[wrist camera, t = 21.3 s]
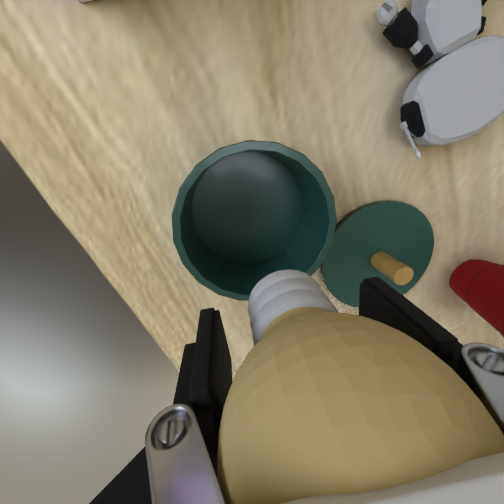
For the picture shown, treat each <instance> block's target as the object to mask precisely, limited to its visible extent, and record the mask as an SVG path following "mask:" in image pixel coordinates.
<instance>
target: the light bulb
mask: <svg viewBox="0 0 504 504" xmlns="http://www.w3.org/2000/svg"><path fill="white" fill-rule="evenodd" d="M248 312H249V316H250V324H251V329H252V335H253V341H254V347H253V349H252V350H251V351H250V352H249V353H248V355H247V357H246V358H245V360H244V361H243V363H242V365H241V366H240V368H239V369H238V371H237V373H236V375H235V378H234V380H233V382H232V385H231V387H230V389H229V392H228V395H227V398H226V401H225V404H224V408H223V413H222V419H221V424H220V429H219V438H218V453H217V464H218V483H219V486H220V489H221V492H222V494H223V497H224V500H225V503H226V504H281V503H285V502H289V501H294V500H298V499H302V498H306V497H311V496H315V495H336V494H351V493H362V492H368V491H374V490H381V489H386V488H391V487H395V486H399V485H403V484H406V483H410V482H413V481H416V480H419V479H423V478H426V477H429V476H432V475H434V474H437V473H440V472H443V471H445V470H448V469H451V468H453V467H455V466H457V465H459V464H461V463H463V462H465V461H467V460H471V459H476V458H480V457H485V456H489V455H494V454H498V453H503V452H504V435H503V433H502V432H501V430H500V428H499V427H498V425H497V424H496V422H495V421H494V419H493V418H492V416H491V415H490V414H489V412H488V411H487V409H486V408H485V406H484V405H483V404H482V402H481V401H480V400H479V399H478V397H477V396H476V395H475V394H474V392H473V391H472V390H471V389H470V387H469V386H468V385H467V384H466V383H465V382H464V381H463V380H462V379H461V378H460V377H459V376H458V375H457V373H456V372H455V371H454V370H453V369H452V368H451V367H450V366H448V365H447V364H446V363H445V362H443V361H442V360H441V359H440V358H439V357H437V356H436V355H435V354H434V353H433V352H431V351H430V350H429V349H427V348H426V347H425V346H423V345H422V344H420V343H419V342H418V341H416V340H414V339H413V338H411V337H410V336H408V335H406V334H405V333H403V332H401V331H399V330H397V329H394V328H392V327H390V326H388V325H386V324H383V323H381V322H379V321H375V320H372V319H369V318H366V317H363V316H358V315H352V314H347V313H339V312H338V310H337V309H336V308H335V306H334V305H333V304H332V302H331V301H330V300H329V299H328V297H327V296H326V294H325V293H324V291H323V290H322V289H321V287H320V286H319V284H318V283H317V282H316V281H315V280H314V279H313V278H312V277H311V276H309V275H308V274H306V273H304V272H301V271H298V270H290V269H289V270H280V271H276V272H273V273H271V274H269V275H267V276H266V277H264V278H263V279H261V280H260V281H259V282H258V283H257V284H256V285H255V287H254V288H253V290H252V292H251V294H250V297H249V300H248Z"/></svg>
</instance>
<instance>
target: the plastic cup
mask: <svg viewBox="0 0 504 504" xmlns="http://www.w3.org/2000/svg"><path fill="white" fill-rule="evenodd" d="M450 287H451V288H452V290H453V291H454V292H455V293H456V294H457V295H458V296H459V297H460V298H462V299H463V300H464V301H465V302H467V303H468V304H469V306H470V307H471V308H472V309H474V310H475V311H476V312H477V313H478V314H479V315H480V316H482V317H483V318H484V319H485V320H486V321H487V322H488V323H490V324H491V325H492V326H493V327H494V328H495V329H496V330H497V331H499V332H500V333H501V335H502V336H503V337H504V265H500V264H496V263H492V262H488V261H484V260H469V261H466V262H464V263H462V264H461V265H460V266H458V267H457V268H456V269H455V271H454V272H453V273H452V275H451V278H450Z"/></svg>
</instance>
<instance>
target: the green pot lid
mask: <svg viewBox="0 0 504 504" xmlns="http://www.w3.org/2000/svg"><path fill="white" fill-rule="evenodd" d="M433 245H434V238H433V231H432V228H431V225H430V223H429V221H428V219H427V218H426V217H425V215H424V214H423V213H422V212H421V211H420V210H418V209H417V208H415V207H413V206H412V205H409V204H406V203H403V202H398V201H381V202H376V203H372V204H370V205H367V206H364V207H362V208H360V209H359V210H357V211H355V212H354V213H352V214H351V215H349V216H348V217H347V218H346V219H345V220H343V221H342V222H341V223H340V225H339V226H338V227H337V228H336V229H335V231H334V237H333V242H332V244H331V247H330V249H329V251H328V253H327V255H326V257H325V259H324V261H323V263H322V275H323V279H324V282H325V284H326V286H327V288H328V289H329V291H330V292H331V293H332V294H333V295H334V297H336V298H337V299H338V300H339V301H341V302H343V303H345V304H347V305H350V306H354V307H359V293H360V283H362V282H363V280H364V279H366V278H371V277H380V278H381V279H382V280H383V281H385V282H386V283H387V284H389V285H390V286H391V287H392V288H394V289H395V290H396V291H397V292H399V293H400V294H401V295H403V294H405V293H406V292H407V291H409V290H410V289H411V288H412V287H413V286H414V285H415V284H416V283H417V282H418V280H419V279H420V278H421V277H422V275H423V274H424V272H425V270H426V269H427V266H428V264H429V262H430V259H431V256H432V252H433Z"/></svg>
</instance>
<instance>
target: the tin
mask: <svg viewBox="0 0 504 504" xmlns="http://www.w3.org/2000/svg"><path fill="white" fill-rule="evenodd" d="M172 226H173V241H174V244H175V246H176V249H177V251H178V253H179V256H180V258H181V261H182V263H183V265H184V266H185V267H186V268H187V269H188V270H189V272H190V273H191V274H192V275H193V276H194V277H195V279H196V280H197V281H198V282H199V283H201V284H202V285H204V286H206V287H207V288H209V289H210V290H212V291H214V292H215V293H217V294H219V295H222V296H225V297H229V298H233V299H236V300H241V301H243V300H249V297H250V294H251V292H252V290H253V288H254V287H255V285H256V284H257V283H258V282H259V281H260V280H261V279H263V278H264V277H266V276H267V275H269V274H271V273H273V272H276V271H280V270H289V269H290V270H298V271H301V272H304V273H306V274H308V275H309V276H312V275H313V273H314V272H315V271H316V270H317V269H318V268H319V267H320V266H321V264H322V263H323V261H324V259H325V257H326V255H327V253H328V251H329V249H330V247H331V244H332V242H333V237H334V231H335V226H336V212H335V203H334V196H333V194H332V192H331V190H330V188H329V186H328V184H327V181H326V179H325V177H324V175H323V173H322V172H321V171H320V170H319V169H318V168H317V167H316V166H315V165H314V164H313V163H312V162H311V161H310V160H309V159H308V158H307V157H306V156H305V155H304V154H302V153H300V152H298V151H296V150H293V149H291V148H289V147H287V146H284V145H282V144H280V143H277V142H266V141H253V140H249V141H248V140H247V141H244V142H240V143H237V144H233V145H229V146H226V147H222V148H220V149H218V150H217V151H215V152H214V153H212V154H211V155H210V156H208V157H207V158H205V159H204V160H202V161H201V162H200V163H198V164H197V165H196V166H195V167H194V169H193V170H192V171H191V173H190V174H189V176H188V177H187V178H186V180H185V181H184V183H183V184H182V186H181V187H180V189H179V191H178V195H177V198H176V202H175V206H174V209H173V213H172Z"/></svg>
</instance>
